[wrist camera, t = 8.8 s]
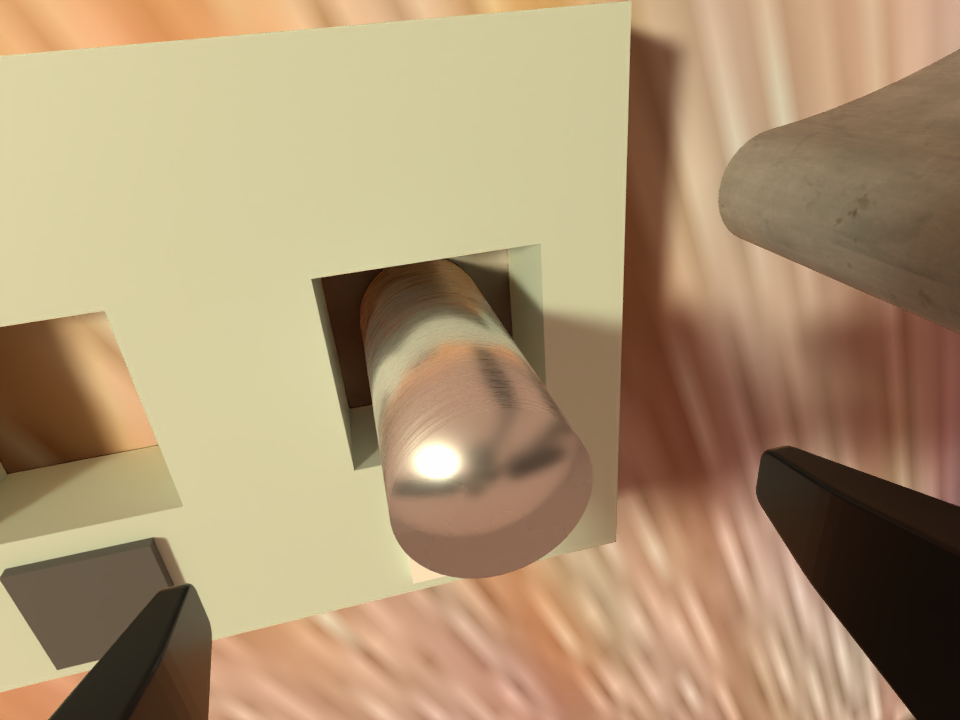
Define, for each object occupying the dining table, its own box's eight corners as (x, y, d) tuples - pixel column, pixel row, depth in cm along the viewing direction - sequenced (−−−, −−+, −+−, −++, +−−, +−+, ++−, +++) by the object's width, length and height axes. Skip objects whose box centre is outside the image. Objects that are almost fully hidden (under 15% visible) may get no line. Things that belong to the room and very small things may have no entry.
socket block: (574, 10, 14) (638, -1, 11) (578, 480, 21) (620, 548, 18) (-339, 91, 11) (-564, 104, 8) (0, 610, 18) (-61, 716, 15)
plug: (476, 247, 16) (593, 389, 9) (486, 358, 18) (592, 552, 11) (349, 266, 16) (372, 434, 9) (371, 379, 17) (405, 598, 10)
